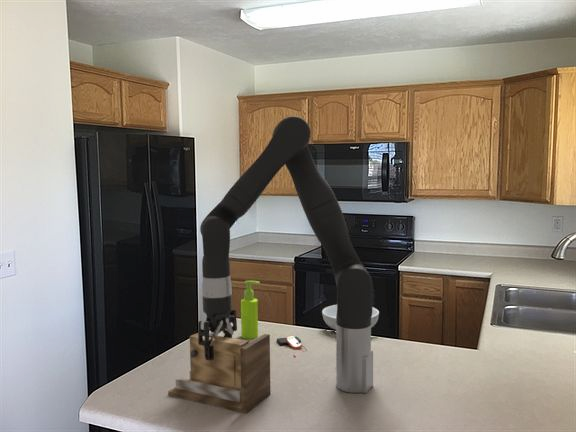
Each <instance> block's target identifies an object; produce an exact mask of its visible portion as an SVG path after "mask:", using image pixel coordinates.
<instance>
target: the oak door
mask: <svg viewBox="0 0 576 432" xmlns="http://www.w3.org/2000/svg"><path fill="white" fill-rule="evenodd" d="M210 339H211V337H209V341H210ZM203 340H204V336H203ZM248 343H250V341H249V340H247V339H239V338H233V337H232V338H228V337H224V336H222V335H221V336H220V335H218V337H217V338H215V341H214V344H213V346H214V359H213V360H212V361H210V360H206V359H205V349H204V346H203V345H199V344H198V332H197V333H194V334H191V335H190V336H189V353H190V354H189V356H190V357H189V358H190V371H191V381H196V382H201V383H205V384H210V385H215V386H219V387H224V388H229V389H233V390H238V391H241V357H240V348H241V347H243V346H245V345H247V344H248Z"/></svg>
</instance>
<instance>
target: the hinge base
mask: <svg viewBox="0 0 576 432" xmlns="http://www.w3.org/2000/svg"><path fill="white" fill-rule="evenodd" d="M270 336H271V335H270V334H269V333H268V334H267V333H263V334H262V335H260V336H258V337H257V338H254V340H251V341H249V343H248V344H247V345H245V346H243V347H241V348H240V357H241V391H238V390H233V389H229V388H224V387H219V386H215V385H210V384H205V383H201V382H196V381H191V370H189V379H187V378H181V377H176V378H175V386H174V387H173V388H172V389H170V390H168V391H167V393H168V394H167V395H168V396H171V397H175V398H179V399H184V400H187V401H192V402H195V403H201V404H205V405H209V406H212V407H217V408H222V409H225V410H226V409H227V410H230V411H234V412H239V413H243V414H248V413H249V412H251V411H252V410H253V409H254V408H256V407H257V406H258V405H259V404H261V402H263V401H265V399H267V398H268V397H269V396H270V395H271V343H270V341H271V339H270V338H271V337H270Z"/></svg>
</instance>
